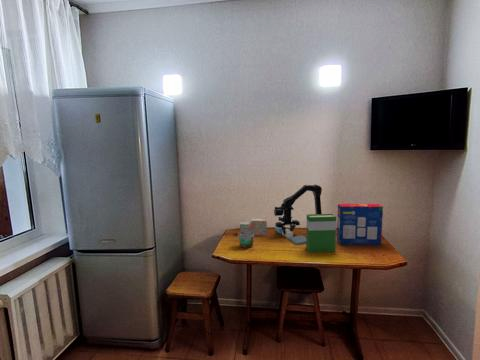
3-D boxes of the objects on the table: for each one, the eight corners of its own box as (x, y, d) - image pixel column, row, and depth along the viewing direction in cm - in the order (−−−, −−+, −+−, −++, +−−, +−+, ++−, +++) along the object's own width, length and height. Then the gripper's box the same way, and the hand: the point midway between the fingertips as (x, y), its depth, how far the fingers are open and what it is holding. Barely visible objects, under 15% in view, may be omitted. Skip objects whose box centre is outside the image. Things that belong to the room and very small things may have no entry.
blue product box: (376, 241, 197) (378, 204, 193) (380, 245, 189) (382, 206, 185) (336, 240, 200) (337, 203, 196) (339, 244, 192) (340, 206, 188)
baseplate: (302, 237, 209) (302, 235, 208) (310, 242, 197) (310, 240, 197) (288, 239, 205) (288, 237, 205) (296, 244, 194) (296, 242, 194)
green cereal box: (331, 247, 188) (332, 213, 185) (335, 251, 181) (336, 216, 177) (306, 247, 188) (306, 214, 185) (308, 252, 181) (309, 217, 178)
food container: (235, 248, 191) (234, 234, 189) (238, 244, 196) (238, 231, 195) (251, 250, 186) (251, 236, 185) (254, 247, 192) (254, 233, 191)
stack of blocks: (240, 235, 217) (239, 220, 215) (240, 232, 223) (240, 218, 221) (266, 235, 215) (266, 220, 213) (266, 232, 221) (266, 218, 219)
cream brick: (287, 233, 217) (287, 229, 217) (293, 237, 210) (293, 232, 209) (282, 234, 215) (282, 229, 215) (287, 237, 208) (287, 233, 207)
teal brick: (280, 230, 227) (280, 225, 227) (285, 233, 220) (285, 228, 219) (275, 231, 226) (275, 226, 225) (279, 233, 218) (279, 229, 218)
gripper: (293, 211, 221) (293, 229, 223) (272, 213, 215) (272, 232, 217) (300, 214, 210) (300, 234, 212) (278, 217, 204) (278, 237, 207)
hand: (287, 234), depth 212 cm, fingers closed on cream brick, 5 cm apart
